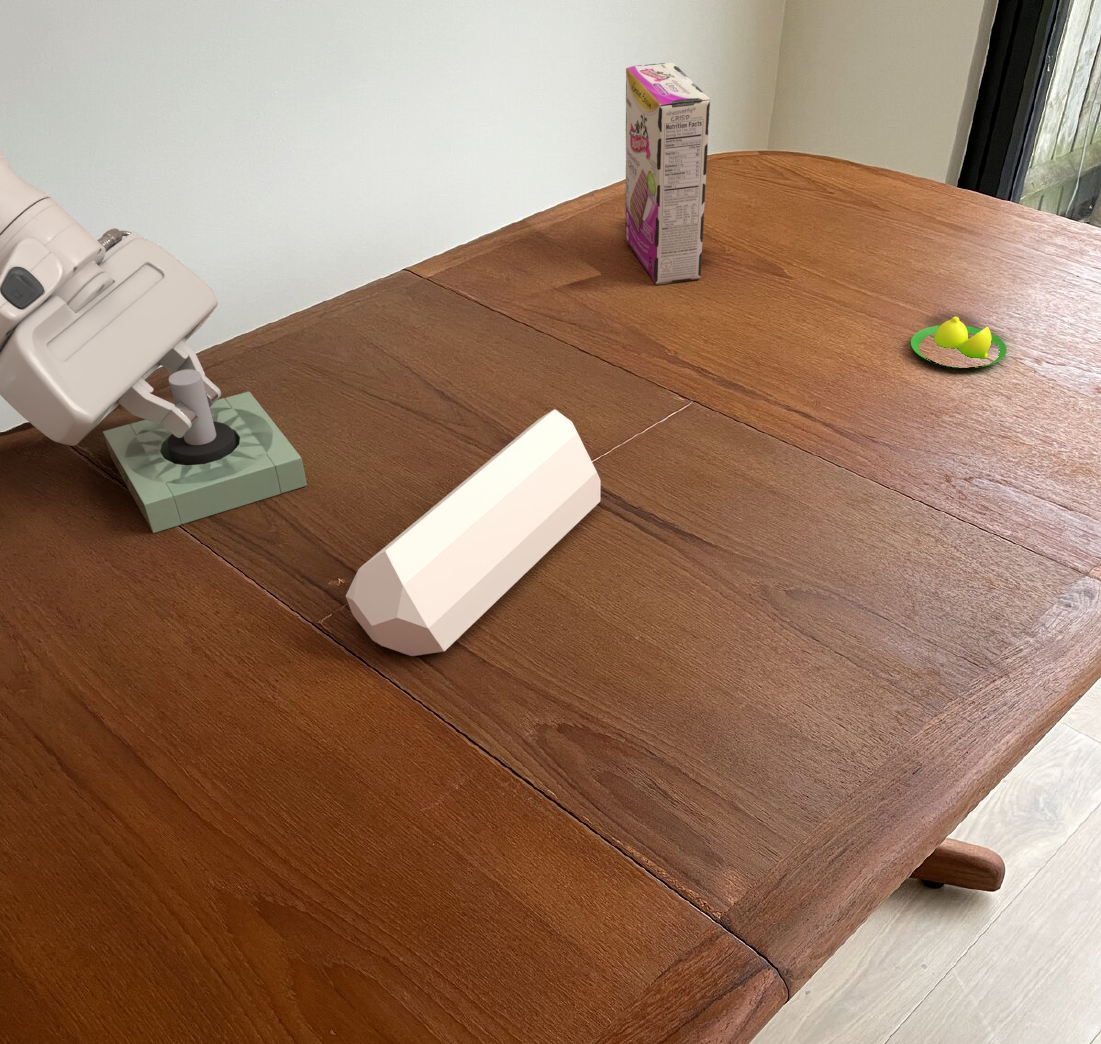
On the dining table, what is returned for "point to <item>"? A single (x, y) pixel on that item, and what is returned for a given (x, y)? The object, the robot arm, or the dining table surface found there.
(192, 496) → the sink plate
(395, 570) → the crystal
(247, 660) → the dining table surface
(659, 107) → the candy bar box
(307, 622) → the dining table surface
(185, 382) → the stopper
